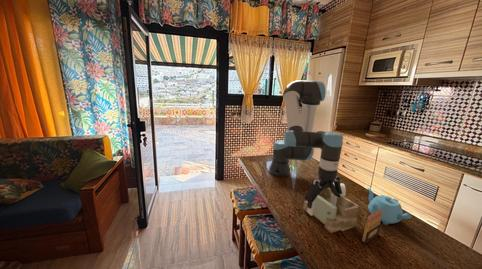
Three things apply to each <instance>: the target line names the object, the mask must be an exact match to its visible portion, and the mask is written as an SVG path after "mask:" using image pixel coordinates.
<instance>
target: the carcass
mask: <svg viewBox="0 0 482 269" xmlns="http://www.w3.org/2000/svg"><path fill="white" fill-rule="evenodd" d="M331 194H333V192H332V191H331V189H330V188H326V189H324V190H323V191H321V192H320V193H319V196H321V197H322V198H324V199H325V200H326V201H328V202H329V203H330V200H331ZM339 195H340V194H339ZM307 204H308V201H307V200H304V201H303V207H302V209H303V211H305V212H306V213H307V210H308V207H307ZM336 207H337V210H336V216H335V221H331V220H330V219H328V218H326V220H325V224H324V228H325V230H327V231H328V232H329V233H331V234H333V233H335V232H338V231H341V232H344V231H347V230H349V229H352V228H355V227H357V223H358V218H359V215H360V209H361V206H360V205H358V204H357V203H355V202H353V201H352V200H350V199H349V198H347V197H346V196H345V197H343V196H342V195H341V196H340V197H338V199H337V202H336Z"/></svg>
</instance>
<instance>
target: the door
mask: <svg viewBox="0 0 482 269" xmlns="http://www.w3.org/2000/svg"><path fill="white" fill-rule="evenodd" d="M313 202H315V204H314V210H313V216H314V217H315V218H316V219H318V220H319V221H320V222H321V223H322V224H324V225H325V220H326V218H328V219H330V220H331V221H335V216H336V210H337V207H335V206H334V205H332V204H331V203H329V202H328V201H326V200H325V199H324V198H322V197H321V196H319V195H318V196H317V197H316V199H315V200H314V201H313Z"/></svg>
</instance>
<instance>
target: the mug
mask: <svg viewBox="0 0 482 269" xmlns="http://www.w3.org/2000/svg"><path fill="white" fill-rule="evenodd" d="M333 184H334V182H333ZM340 185H341V190H342V194H340V195H342V196H343V197H345V198H346V191H347V188H346V185H345V183H342V182H340ZM334 186H335V185H334Z"/></svg>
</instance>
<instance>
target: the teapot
mask: <svg viewBox="0 0 482 269" xmlns="http://www.w3.org/2000/svg"><path fill="white" fill-rule="evenodd" d="M367 190H368V192H369V194H368V203H369V204H368V205H367V206H368V207H367V209H368V212H369V213H370V215H371V214H373V213H374V212H376V211H378V210H380V209H382V215H381V223H382V224H383V225H385V226H388V225H391V224H396V223H399V222H401V221H402V220H407V219H411V218H413V217H412V215H411V213H410V212H406V213H403V212H404V211H403V207H402V205H401V203H400V202H399V200H398V199H396V198H392V197H391V196H388V195H384V194H383V195H376V196H375V197H374V192H373V190H372V189H370V188H369V187H367Z"/></svg>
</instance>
